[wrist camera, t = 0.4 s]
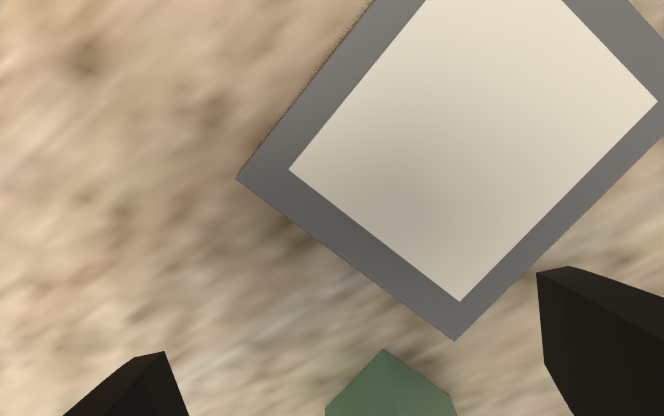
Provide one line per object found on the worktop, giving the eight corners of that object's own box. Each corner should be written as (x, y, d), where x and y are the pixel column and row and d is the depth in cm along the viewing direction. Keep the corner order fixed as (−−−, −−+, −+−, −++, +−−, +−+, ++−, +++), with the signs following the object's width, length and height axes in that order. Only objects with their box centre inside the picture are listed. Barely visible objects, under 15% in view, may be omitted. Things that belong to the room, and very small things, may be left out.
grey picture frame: (688, 87, 18) (713, 90, 17) (447, 328, 21) (455, 344, 20) (481, -137, 16) (494, -152, 14) (238, 171, 18) (234, 180, 17)
